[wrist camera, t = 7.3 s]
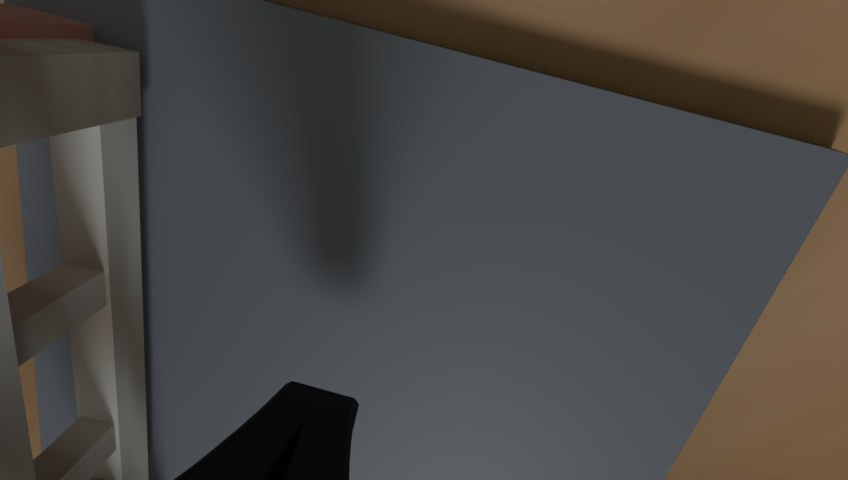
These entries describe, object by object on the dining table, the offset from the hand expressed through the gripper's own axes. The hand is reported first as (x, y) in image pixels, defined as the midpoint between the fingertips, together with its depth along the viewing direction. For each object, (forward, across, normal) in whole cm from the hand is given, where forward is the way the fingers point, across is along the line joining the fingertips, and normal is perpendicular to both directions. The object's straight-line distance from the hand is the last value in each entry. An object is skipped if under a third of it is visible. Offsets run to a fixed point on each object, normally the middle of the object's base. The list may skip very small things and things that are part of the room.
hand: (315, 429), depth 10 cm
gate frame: (+3, 0, +3) cm, 5 cm away
